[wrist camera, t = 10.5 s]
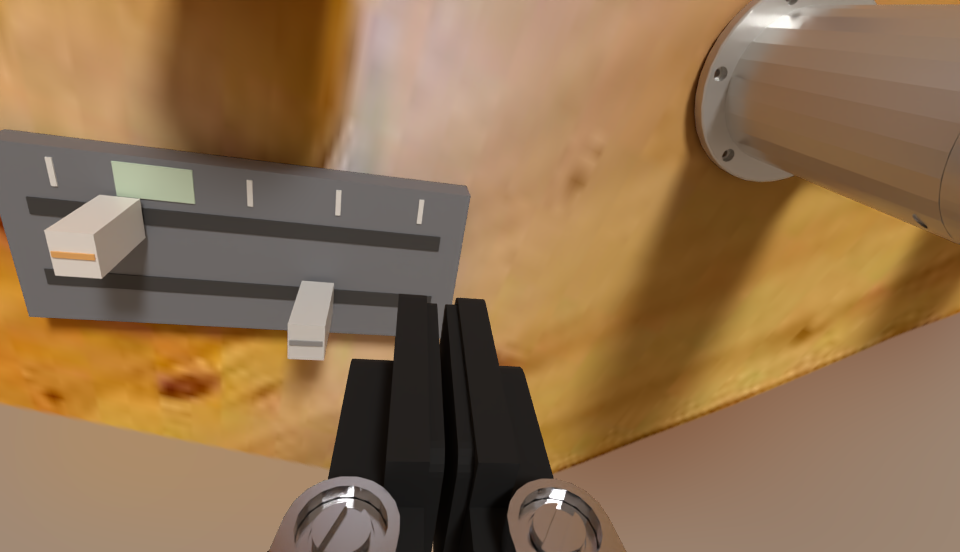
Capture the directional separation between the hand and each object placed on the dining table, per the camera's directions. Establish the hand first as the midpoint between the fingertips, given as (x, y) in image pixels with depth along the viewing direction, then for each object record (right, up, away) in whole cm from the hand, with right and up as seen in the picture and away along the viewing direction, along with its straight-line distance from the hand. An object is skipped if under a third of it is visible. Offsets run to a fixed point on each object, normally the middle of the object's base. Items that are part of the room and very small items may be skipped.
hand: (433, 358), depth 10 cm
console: (-14, +4, +23) cm, 27 cm away
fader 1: (-19, +5, +18) cm, 27 cm away
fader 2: (-10, 0, +22) cm, 25 cm away
